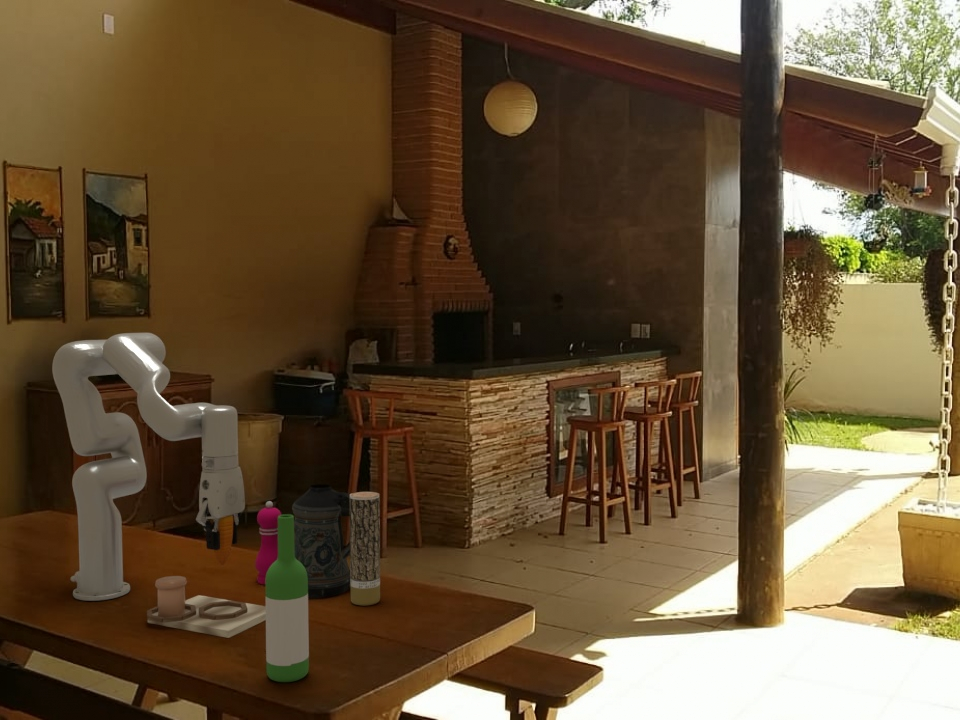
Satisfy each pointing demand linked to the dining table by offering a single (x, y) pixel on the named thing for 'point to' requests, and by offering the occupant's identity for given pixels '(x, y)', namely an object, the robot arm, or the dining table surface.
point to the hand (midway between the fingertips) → (222, 545)
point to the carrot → (224, 538)
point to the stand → (212, 616)
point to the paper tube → (365, 548)
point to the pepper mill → (267, 540)
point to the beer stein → (322, 540)
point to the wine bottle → (286, 610)
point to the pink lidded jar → (171, 596)
